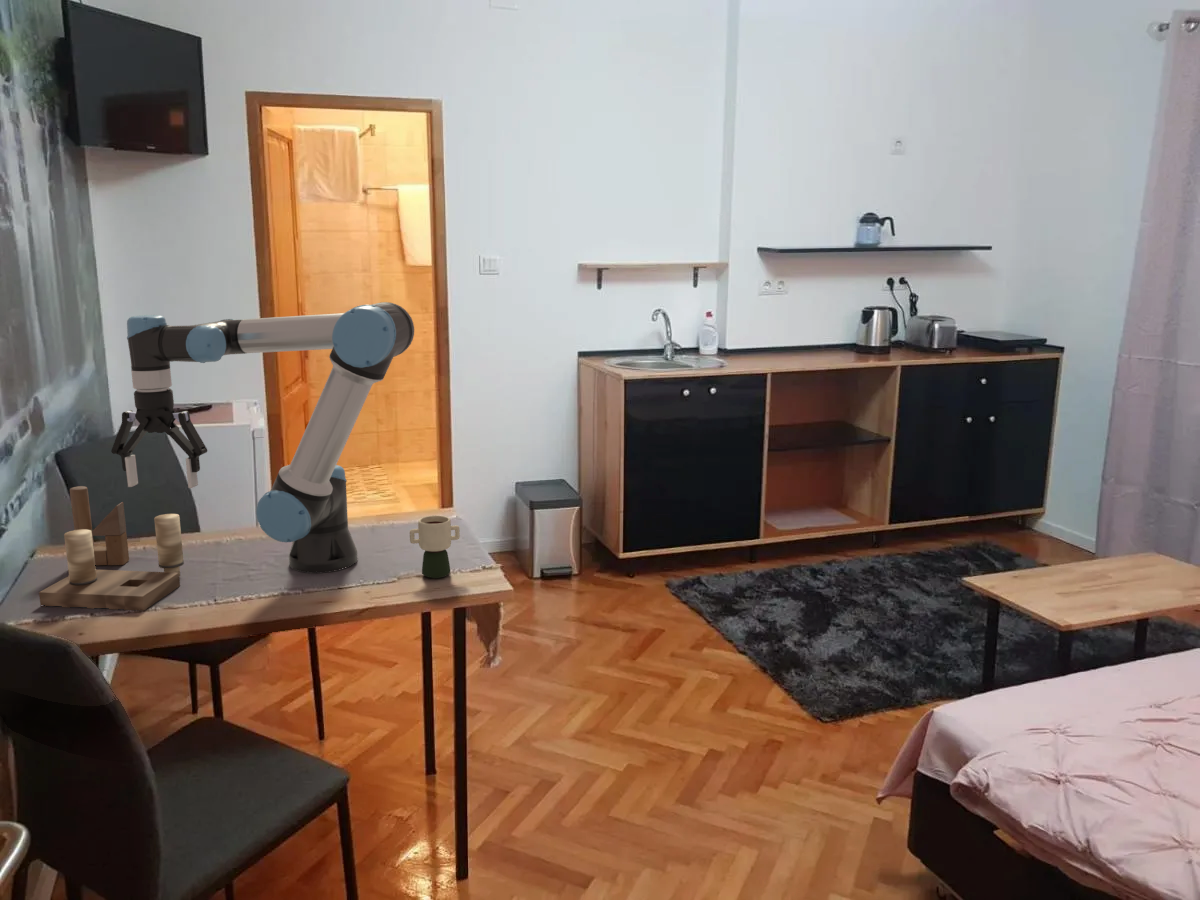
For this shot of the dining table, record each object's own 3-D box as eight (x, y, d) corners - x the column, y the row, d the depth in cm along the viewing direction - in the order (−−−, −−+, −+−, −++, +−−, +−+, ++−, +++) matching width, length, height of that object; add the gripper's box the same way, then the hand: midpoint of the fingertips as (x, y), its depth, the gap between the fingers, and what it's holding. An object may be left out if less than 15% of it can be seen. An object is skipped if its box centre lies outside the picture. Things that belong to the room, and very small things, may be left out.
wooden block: (123, 565, 219) (115, 489, 215) (74, 566, 218) (65, 490, 214) (130, 560, 223) (122, 485, 219) (81, 561, 222) (72, 485, 218)
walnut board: (180, 585, 207) (174, 525, 204) (144, 610, 193) (137, 546, 190) (82, 582, 208) (75, 522, 206) (40, 606, 195) (32, 542, 192)
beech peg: (189, 572, 215) (183, 514, 212) (177, 580, 210) (171, 520, 207) (167, 571, 216) (161, 513, 213) (155, 579, 211) (149, 519, 208)
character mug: (458, 568, 219) (456, 513, 216) (463, 578, 212) (461, 522, 209) (409, 572, 215) (407, 517, 213) (413, 583, 209) (411, 526, 206)
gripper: (218, 386, 206) (226, 482, 211) (107, 385, 209) (118, 480, 213) (200, 392, 199) (210, 491, 204) (86, 391, 201) (98, 489, 206)
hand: (163, 486), depth 208 cm, fingers open, 13 cm apart
